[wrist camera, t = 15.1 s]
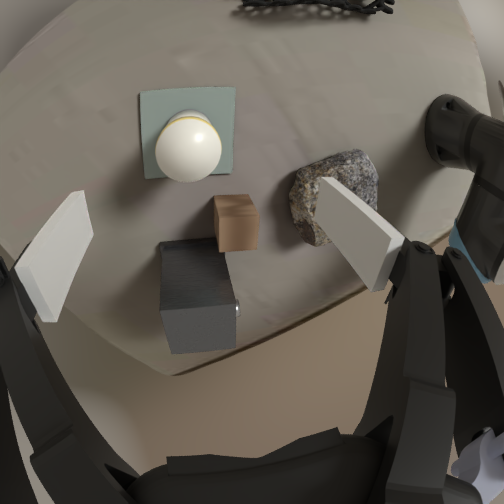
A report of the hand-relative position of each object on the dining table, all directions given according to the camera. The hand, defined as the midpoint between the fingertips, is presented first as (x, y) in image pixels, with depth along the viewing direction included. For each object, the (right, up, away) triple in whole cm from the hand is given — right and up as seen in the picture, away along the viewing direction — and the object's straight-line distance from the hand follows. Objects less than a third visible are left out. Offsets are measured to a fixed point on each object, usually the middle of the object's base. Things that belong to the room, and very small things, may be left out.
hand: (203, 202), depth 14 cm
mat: (-6, +13, +18) cm, 23 cm away
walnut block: (-1, +4, +26) cm, 26 cm away
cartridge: (-6, +13, +18) cm, 22 cm away
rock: (+15, +7, +28) cm, 32 cm away
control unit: (-7, -5, +30) cm, 31 cm away
